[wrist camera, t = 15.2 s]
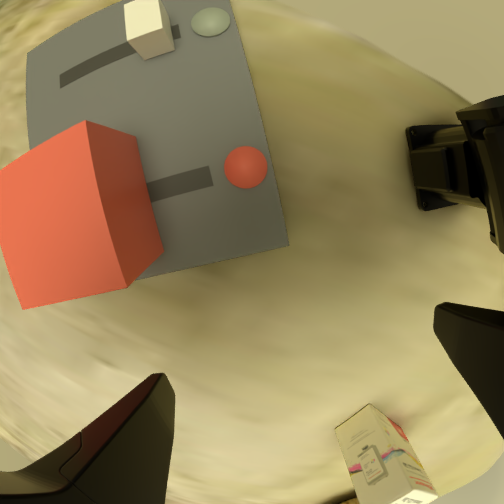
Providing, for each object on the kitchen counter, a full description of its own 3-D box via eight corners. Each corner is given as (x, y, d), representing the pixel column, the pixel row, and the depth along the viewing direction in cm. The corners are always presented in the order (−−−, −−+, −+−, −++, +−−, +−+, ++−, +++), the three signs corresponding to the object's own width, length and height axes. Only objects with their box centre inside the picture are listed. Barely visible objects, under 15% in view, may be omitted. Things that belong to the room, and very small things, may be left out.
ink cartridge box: (402, 425, 25) (451, 515, 11) (370, 449, 26) (406, 541, 12) (370, 400, 24) (427, 517, 10) (331, 428, 25) (368, 546, 10)
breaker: (168, 16, 13) (157, -8, 10) (175, 50, 14) (162, 27, 11) (139, 26, 13) (123, 4, 10) (144, 60, 14) (126, 40, 11)
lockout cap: (135, 136, 15) (85, 120, 9) (164, 251, 17) (127, 287, 11) (47, 175, 15) (-13, 180, 9) (74, 274, 17) (22, 309, 11)
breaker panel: (222, -11, 14) (219, -31, 12) (283, 237, 19) (290, 246, 17) (43, 61, 15) (25, 52, 12) (82, 283, 20) (64, 297, 17)
